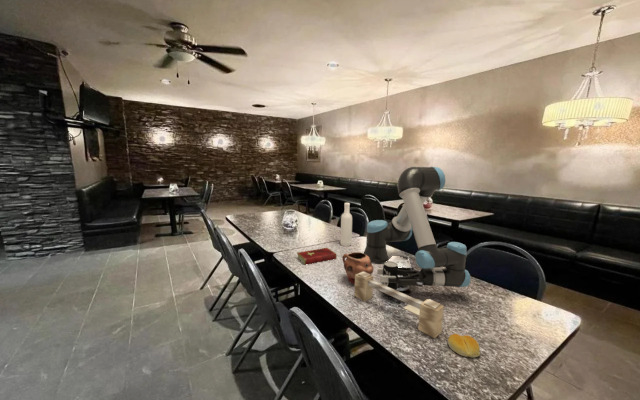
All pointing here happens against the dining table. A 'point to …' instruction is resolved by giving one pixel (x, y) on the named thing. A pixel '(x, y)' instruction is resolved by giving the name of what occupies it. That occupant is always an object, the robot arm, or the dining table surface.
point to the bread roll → (464, 345)
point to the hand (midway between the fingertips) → (378, 275)
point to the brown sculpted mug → (356, 265)
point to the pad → (413, 308)
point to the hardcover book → (316, 256)
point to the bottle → (346, 226)
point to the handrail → (428, 309)
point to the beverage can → (390, 273)
